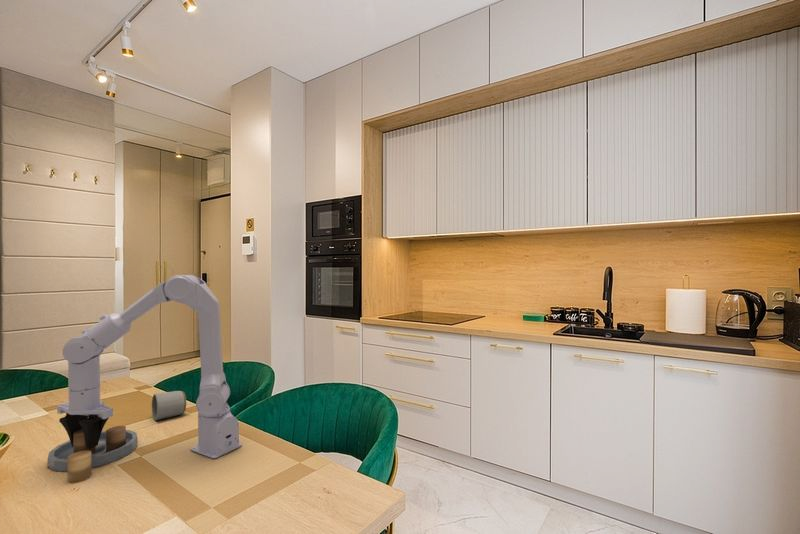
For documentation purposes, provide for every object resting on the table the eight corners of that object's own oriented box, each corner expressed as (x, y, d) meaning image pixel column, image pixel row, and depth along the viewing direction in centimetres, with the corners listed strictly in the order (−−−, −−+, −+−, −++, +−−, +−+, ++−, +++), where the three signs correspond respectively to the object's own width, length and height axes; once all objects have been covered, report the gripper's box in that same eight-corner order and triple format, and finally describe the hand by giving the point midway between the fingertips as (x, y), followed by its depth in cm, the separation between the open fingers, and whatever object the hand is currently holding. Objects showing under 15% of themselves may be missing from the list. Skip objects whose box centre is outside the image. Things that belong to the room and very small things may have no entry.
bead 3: (130, 445, 98) (129, 425, 98) (117, 453, 94) (117, 432, 94) (114, 445, 99) (114, 425, 99) (101, 453, 95) (101, 432, 95)
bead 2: (95, 475, 86) (95, 452, 86) (72, 484, 82) (72, 461, 82) (86, 471, 88) (86, 448, 88) (64, 479, 84) (63, 456, 84)
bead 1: (95, 453, 91) (95, 431, 91) (73, 458, 89) (73, 436, 89) (95, 447, 94) (95, 426, 94) (73, 452, 92) (73, 430, 92)
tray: (151, 447, 99) (150, 438, 99) (68, 479, 84) (68, 468, 84) (116, 433, 108) (116, 425, 108) (35, 460, 93) (35, 450, 93)
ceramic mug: (187, 416, 120) (187, 390, 120) (157, 423, 114) (156, 397, 114) (177, 408, 128) (177, 384, 128) (148, 414, 122) (148, 389, 122)
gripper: (125, 384, 93) (125, 442, 93) (79, 380, 97) (79, 435, 97) (95, 394, 87) (95, 455, 87) (46, 389, 90) (47, 448, 90)
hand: (85, 446), depth 91 cm, fingers closed on bead 1, 4 cm apart
